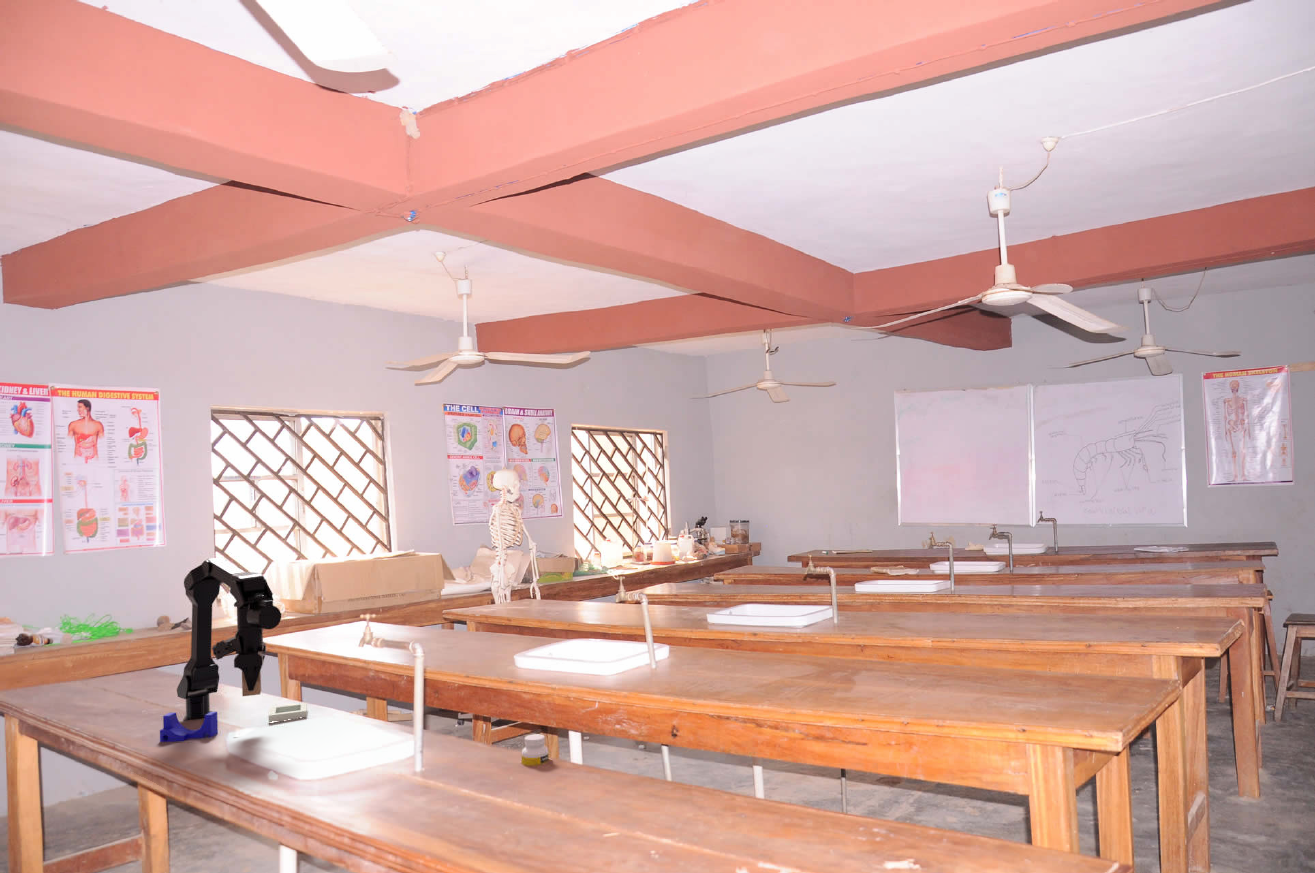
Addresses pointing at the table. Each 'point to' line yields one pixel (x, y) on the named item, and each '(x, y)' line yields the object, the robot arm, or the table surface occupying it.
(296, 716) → the frame
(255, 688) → the walnut peg block
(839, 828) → the table surface
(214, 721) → the cable clip
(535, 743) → the supplement bottle
